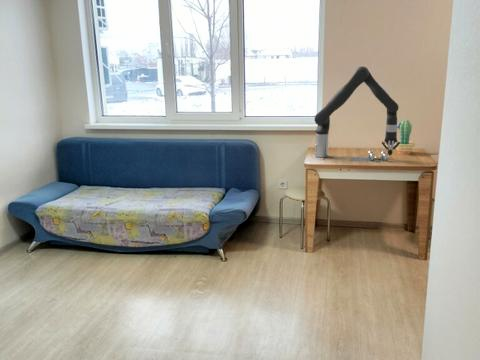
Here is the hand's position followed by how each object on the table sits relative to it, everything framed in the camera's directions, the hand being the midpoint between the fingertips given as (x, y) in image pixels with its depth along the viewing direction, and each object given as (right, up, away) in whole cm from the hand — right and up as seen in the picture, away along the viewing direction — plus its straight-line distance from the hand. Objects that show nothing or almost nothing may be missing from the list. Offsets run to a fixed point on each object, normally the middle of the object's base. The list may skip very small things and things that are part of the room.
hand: (390, 155), depth 316 cm
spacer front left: (-13, -4, -1) cm, 14 cm away
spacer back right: (-3, -2, +6) cm, 7 cm away
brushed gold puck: (-8, -3, +2) cm, 9 cm away
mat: (-15, -3, +4) cm, 16 cm away
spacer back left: (-12, -2, +7) cm, 14 cm away
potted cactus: (+18, +2, +22) cm, 28 cm away
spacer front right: (-4, -4, -2) cm, 6 cm away
